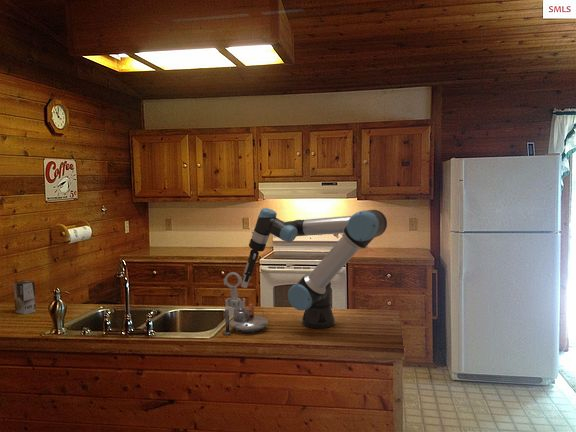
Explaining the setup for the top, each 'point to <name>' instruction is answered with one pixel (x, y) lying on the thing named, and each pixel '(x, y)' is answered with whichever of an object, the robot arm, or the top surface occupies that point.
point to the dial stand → (228, 312)
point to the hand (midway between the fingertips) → (244, 281)
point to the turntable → (250, 321)
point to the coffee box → (24, 297)
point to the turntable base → (249, 331)
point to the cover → (241, 315)
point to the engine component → (234, 293)
